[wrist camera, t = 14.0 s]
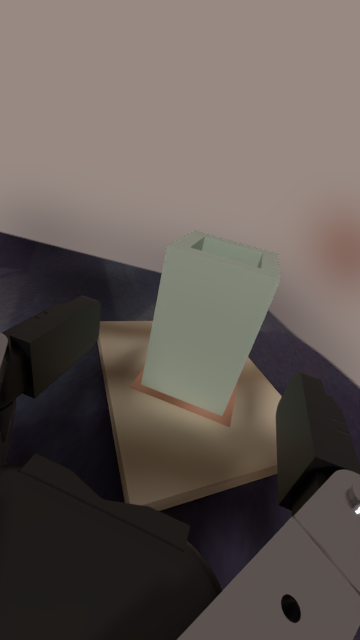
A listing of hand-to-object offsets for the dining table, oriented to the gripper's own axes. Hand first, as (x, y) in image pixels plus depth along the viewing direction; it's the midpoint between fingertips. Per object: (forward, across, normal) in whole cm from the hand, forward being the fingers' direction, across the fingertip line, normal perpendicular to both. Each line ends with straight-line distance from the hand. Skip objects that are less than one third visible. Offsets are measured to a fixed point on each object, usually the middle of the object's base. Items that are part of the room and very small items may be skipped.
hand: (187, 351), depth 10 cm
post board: (+8, 0, +9) cm, 12 cm away
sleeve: (+8, 0, +7) cm, 11 cm away
